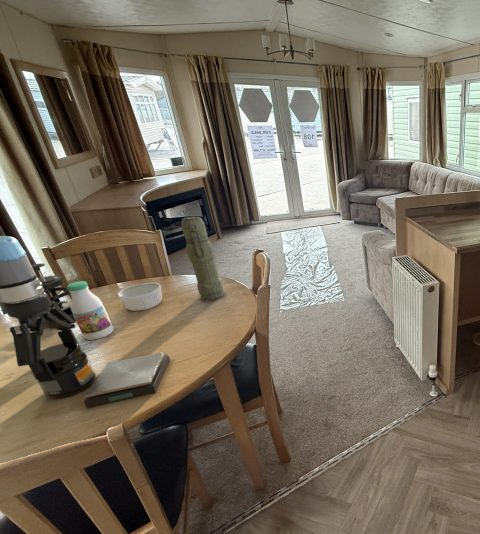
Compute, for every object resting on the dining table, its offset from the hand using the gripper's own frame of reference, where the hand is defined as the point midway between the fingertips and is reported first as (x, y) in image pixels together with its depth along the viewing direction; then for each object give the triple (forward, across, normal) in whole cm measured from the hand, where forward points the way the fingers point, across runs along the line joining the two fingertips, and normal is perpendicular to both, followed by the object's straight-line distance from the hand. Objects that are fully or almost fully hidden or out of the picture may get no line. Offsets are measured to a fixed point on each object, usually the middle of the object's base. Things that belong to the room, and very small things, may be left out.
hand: (61, 364), depth 94 cm
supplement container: (+8, 0, 0) cm, 8 cm away
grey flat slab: (+5, -4, -15) cm, 16 cm away
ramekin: (+8, +48, -4) cm, 49 cm away
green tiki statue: (+8, +47, -28) cm, 55 cm away
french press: (+8, +44, +19) cm, 49 cm away
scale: (+8, -4, -15) cm, 17 cm away
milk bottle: (+8, +29, +4) cm, 31 cm away
